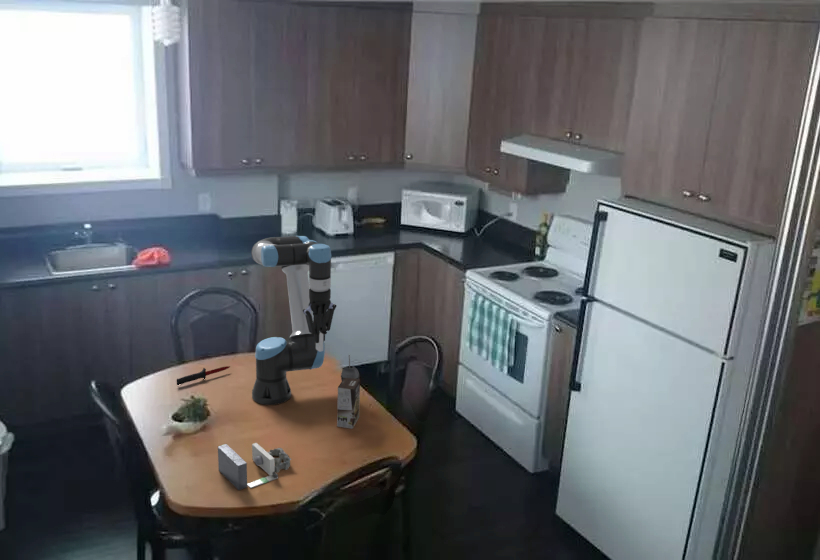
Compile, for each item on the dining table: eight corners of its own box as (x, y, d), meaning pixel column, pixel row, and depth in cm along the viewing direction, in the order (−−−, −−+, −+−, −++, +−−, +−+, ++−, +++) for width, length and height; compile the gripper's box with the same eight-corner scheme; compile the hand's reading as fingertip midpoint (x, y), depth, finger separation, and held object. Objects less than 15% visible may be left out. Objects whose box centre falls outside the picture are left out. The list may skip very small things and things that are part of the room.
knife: (178, 388, 314) (177, 376, 312) (176, 386, 315) (175, 375, 313) (231, 372, 329) (231, 361, 328) (229, 371, 330) (229, 360, 329)
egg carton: (259, 459, 268) (259, 449, 267) (280, 454, 272) (279, 443, 271) (271, 475, 260) (271, 464, 258) (292, 469, 263) (292, 458, 262)
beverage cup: (344, 408, 304) (345, 361, 297) (337, 400, 310) (338, 354, 303) (361, 405, 307) (363, 358, 301) (354, 397, 313) (355, 351, 307)
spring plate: (248, 461, 266) (247, 445, 264) (256, 458, 268) (256, 442, 266) (269, 480, 255) (269, 464, 253) (278, 477, 257) (277, 461, 255)
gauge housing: (218, 470, 260) (217, 446, 257) (255, 457, 268) (254, 434, 266) (240, 492, 249) (240, 467, 246) (278, 478, 257) (277, 454, 254)
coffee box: (353, 429, 289) (354, 389, 284) (336, 426, 291) (337, 387, 285) (359, 417, 298) (360, 378, 293) (343, 415, 299) (344, 376, 294)
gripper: (309, 294, 269) (309, 357, 277) (341, 288, 277) (340, 349, 285) (298, 288, 275) (298, 350, 282) (329, 282, 282) (328, 342, 290)
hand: (319, 349), depth 284 cm, fingers closed
